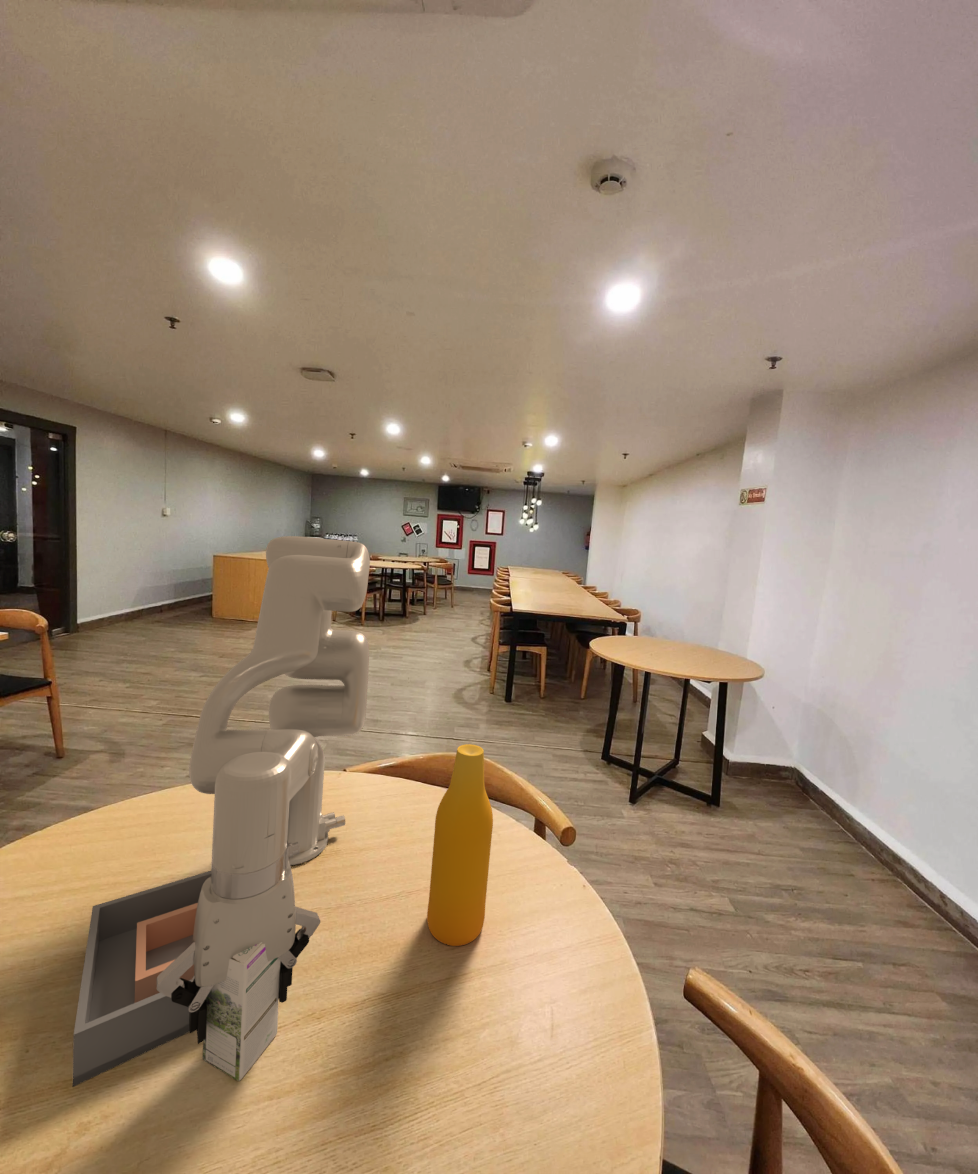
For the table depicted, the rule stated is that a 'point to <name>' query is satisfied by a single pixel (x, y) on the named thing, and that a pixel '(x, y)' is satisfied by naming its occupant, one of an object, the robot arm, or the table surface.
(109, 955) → the walled box
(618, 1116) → the table surface
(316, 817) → the robot arm
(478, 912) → the beer bottle
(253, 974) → the syrup box
